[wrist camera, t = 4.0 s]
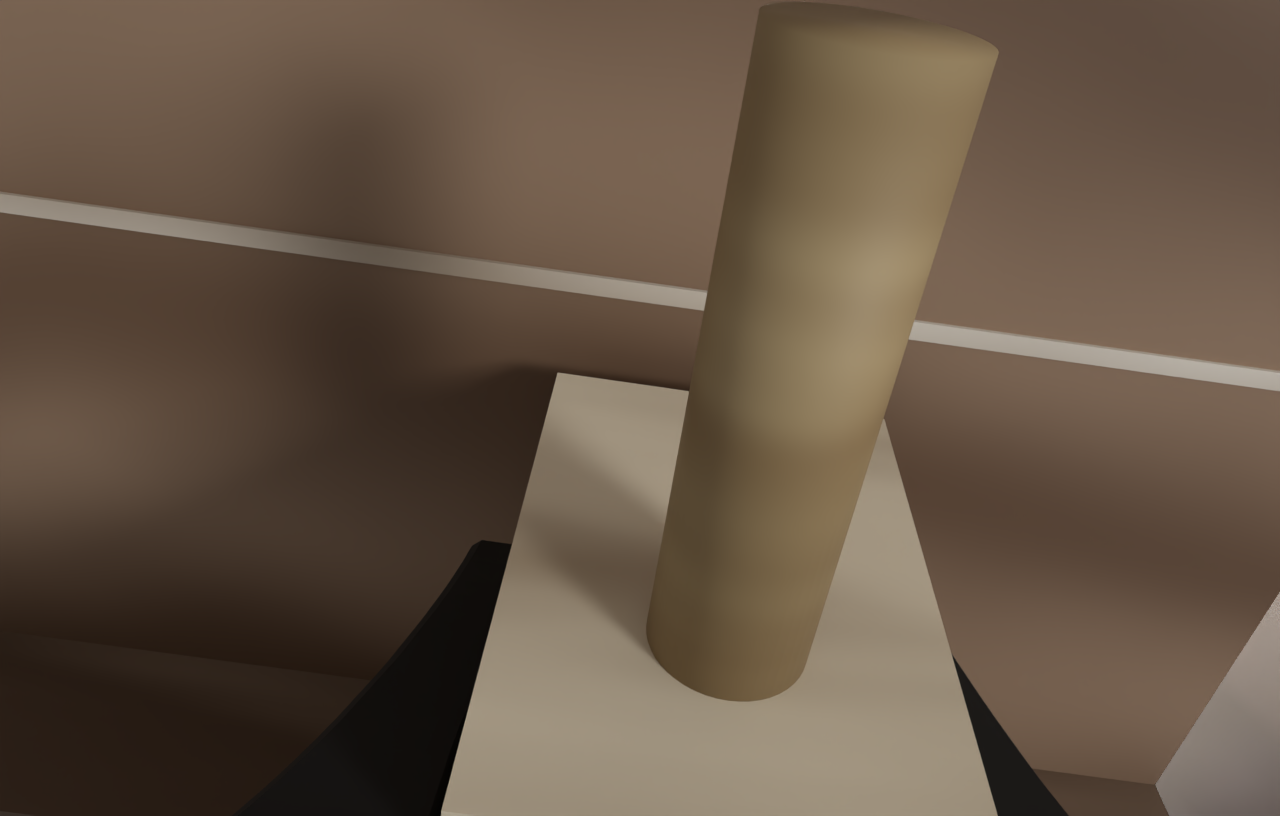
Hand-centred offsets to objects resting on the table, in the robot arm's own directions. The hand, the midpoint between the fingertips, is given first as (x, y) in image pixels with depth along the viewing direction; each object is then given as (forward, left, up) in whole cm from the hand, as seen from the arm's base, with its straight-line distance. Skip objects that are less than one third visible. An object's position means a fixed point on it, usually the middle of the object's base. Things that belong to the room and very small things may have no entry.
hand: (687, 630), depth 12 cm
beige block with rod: (+2, 0, -1) cm, 3 cm away
